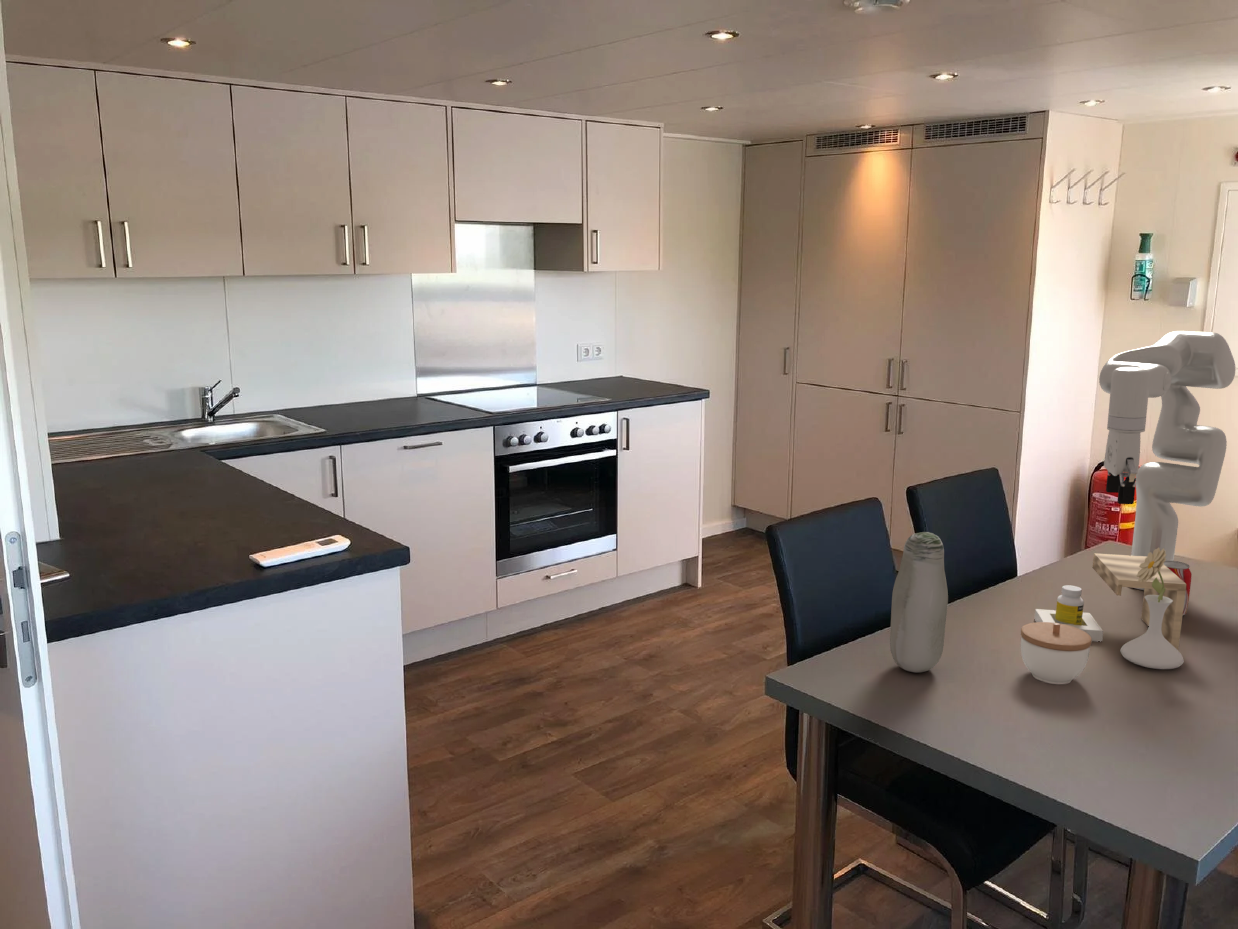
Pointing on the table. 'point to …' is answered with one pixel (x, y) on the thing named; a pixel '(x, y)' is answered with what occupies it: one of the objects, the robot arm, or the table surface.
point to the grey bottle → (919, 604)
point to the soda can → (1181, 577)
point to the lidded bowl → (1054, 651)
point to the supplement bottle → (1069, 606)
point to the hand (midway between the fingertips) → (1119, 497)
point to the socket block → (1087, 625)
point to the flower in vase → (1153, 623)
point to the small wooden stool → (1123, 574)
